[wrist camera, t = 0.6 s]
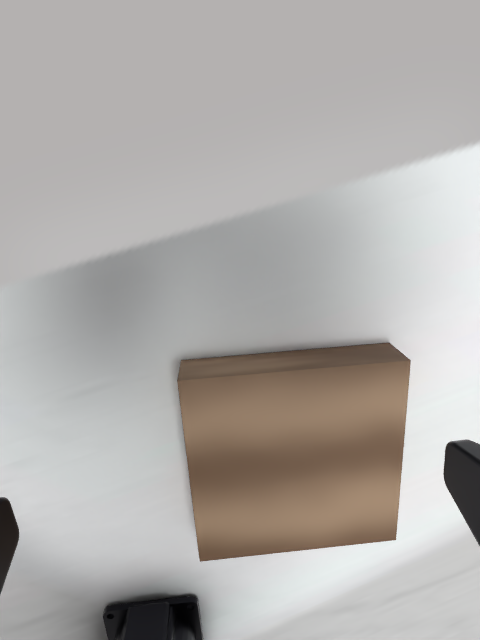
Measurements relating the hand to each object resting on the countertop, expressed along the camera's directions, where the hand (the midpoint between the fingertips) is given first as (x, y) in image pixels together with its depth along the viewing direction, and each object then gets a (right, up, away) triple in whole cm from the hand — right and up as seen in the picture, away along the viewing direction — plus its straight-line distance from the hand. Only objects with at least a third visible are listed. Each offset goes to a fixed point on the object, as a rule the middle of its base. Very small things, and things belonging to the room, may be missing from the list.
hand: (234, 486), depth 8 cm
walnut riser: (+3, -4, +16) cm, 17 cm away
